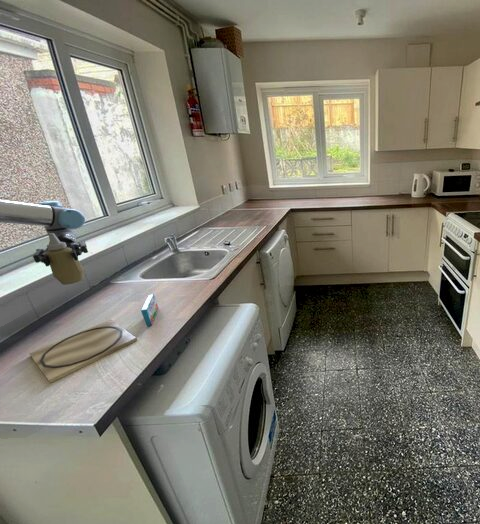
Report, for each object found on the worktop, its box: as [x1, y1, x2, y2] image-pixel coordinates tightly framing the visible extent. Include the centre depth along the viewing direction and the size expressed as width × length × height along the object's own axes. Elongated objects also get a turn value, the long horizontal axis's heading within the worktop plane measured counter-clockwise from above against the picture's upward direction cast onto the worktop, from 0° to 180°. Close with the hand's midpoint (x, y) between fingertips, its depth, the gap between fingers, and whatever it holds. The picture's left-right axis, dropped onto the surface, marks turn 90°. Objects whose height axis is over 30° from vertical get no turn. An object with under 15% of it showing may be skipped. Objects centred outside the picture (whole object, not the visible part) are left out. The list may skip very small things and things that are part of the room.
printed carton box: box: [140, 293, 160, 327], centre depth 99 cm, size 12×2×6 cm, turn 23°
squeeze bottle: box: [46, 233, 85, 285], centre depth 100 cm, size 8×8×18 cm
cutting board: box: [29, 318, 138, 384], centre depth 86 cm, size 20×20×1 cm
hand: (60, 259), depth 96 cm, fingers closed on squeeze bottle, 6 cm apart
